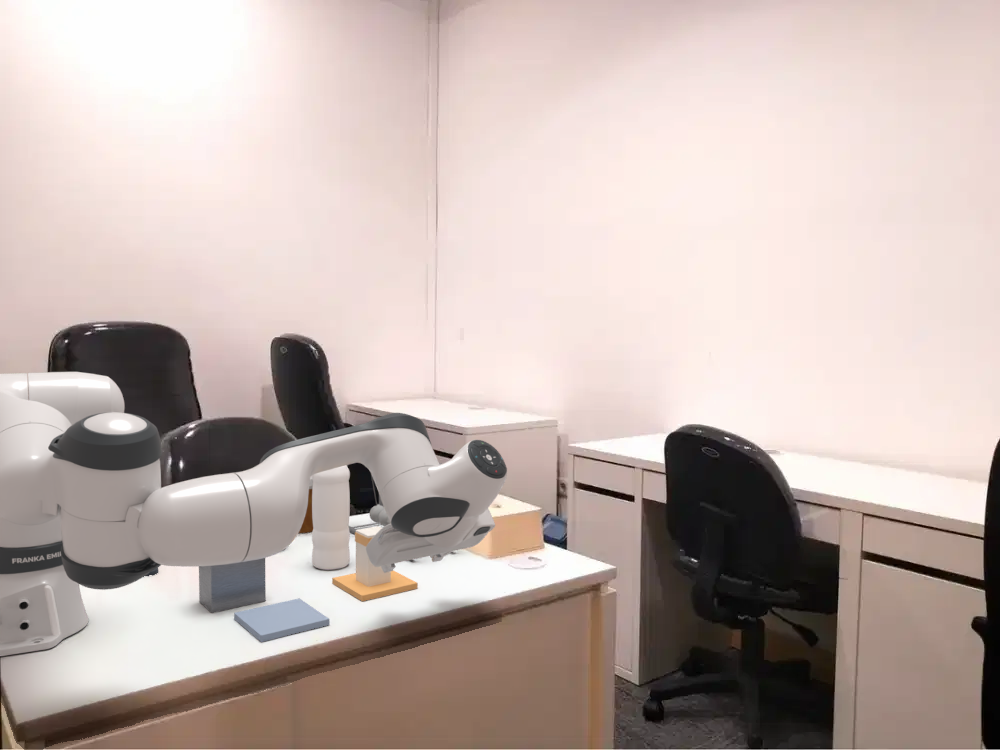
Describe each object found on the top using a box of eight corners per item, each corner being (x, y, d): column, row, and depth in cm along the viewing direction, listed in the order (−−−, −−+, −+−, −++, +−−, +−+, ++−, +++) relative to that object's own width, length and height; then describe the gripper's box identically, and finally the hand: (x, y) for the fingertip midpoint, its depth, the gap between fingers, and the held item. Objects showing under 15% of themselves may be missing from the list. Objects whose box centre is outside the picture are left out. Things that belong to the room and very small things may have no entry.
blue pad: (261, 642, 121) (261, 635, 121) (234, 618, 129) (234, 612, 129) (329, 625, 128) (329, 618, 128) (299, 604, 136) (299, 598, 136)
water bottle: (354, 560, 160) (354, 433, 158) (343, 571, 153) (343, 439, 151) (318, 558, 160) (318, 432, 158) (306, 570, 154) (306, 438, 151)
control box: (213, 614, 131) (211, 540, 130) (198, 601, 137) (197, 530, 136) (267, 602, 137) (266, 531, 136) (251, 590, 142) (250, 522, 141)
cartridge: (367, 587, 142) (368, 536, 141) (354, 579, 146) (355, 530, 145) (391, 581, 145) (391, 531, 144) (378, 574, 149) (378, 526, 148)
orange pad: (362, 601, 138) (362, 595, 138) (332, 583, 146) (332, 577, 146) (417, 588, 145) (417, 582, 145) (385, 571, 153) (385, 566, 153)
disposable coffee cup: (284, 537, 174) (283, 482, 173) (276, 526, 183) (275, 473, 182) (328, 532, 178) (328, 478, 177) (318, 521, 187) (318, 470, 186)
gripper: (393, 546, 119) (361, 592, 128) (503, 524, 132) (467, 568, 140) (378, 509, 122) (347, 557, 131) (487, 492, 135) (453, 536, 143)
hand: (410, 562), depth 136 cm, fingers open, 8 cm apart
